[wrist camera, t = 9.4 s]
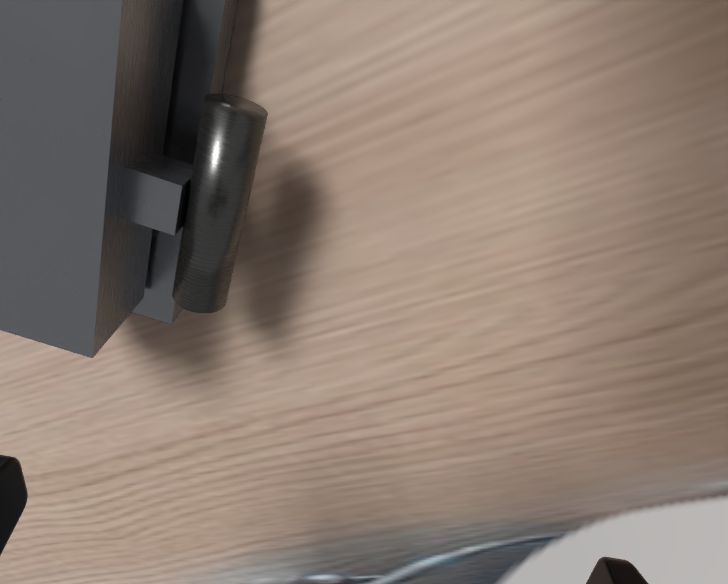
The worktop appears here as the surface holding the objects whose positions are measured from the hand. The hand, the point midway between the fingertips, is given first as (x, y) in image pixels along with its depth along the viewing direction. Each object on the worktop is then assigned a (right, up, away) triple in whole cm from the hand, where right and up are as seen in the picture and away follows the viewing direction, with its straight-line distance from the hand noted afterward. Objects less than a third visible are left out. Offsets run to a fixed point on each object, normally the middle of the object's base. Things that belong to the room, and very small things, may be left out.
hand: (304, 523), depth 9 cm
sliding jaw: (-5, +7, +9) cm, 13 cm away
